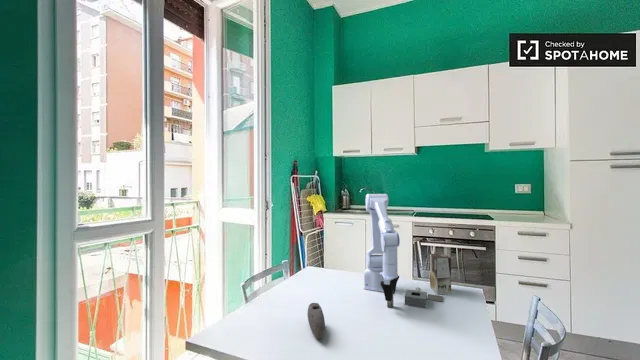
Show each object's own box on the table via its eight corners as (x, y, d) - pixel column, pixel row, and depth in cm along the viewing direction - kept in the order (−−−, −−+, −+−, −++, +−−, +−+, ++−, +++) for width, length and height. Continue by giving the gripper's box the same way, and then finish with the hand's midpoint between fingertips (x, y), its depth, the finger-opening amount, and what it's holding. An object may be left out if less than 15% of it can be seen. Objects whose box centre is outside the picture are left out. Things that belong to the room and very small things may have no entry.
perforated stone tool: (328, 343, 87) (328, 320, 88) (311, 344, 87) (310, 321, 87) (321, 320, 102) (321, 300, 102) (306, 321, 102) (306, 301, 102)
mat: (426, 300, 120) (426, 298, 120) (427, 295, 125) (427, 293, 125) (442, 302, 117) (442, 301, 117) (442, 297, 123) (442, 296, 123)
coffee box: (451, 294, 125) (451, 257, 126) (437, 294, 126) (436, 257, 126) (443, 287, 135) (443, 253, 135) (429, 287, 135) (429, 252, 135)
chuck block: (404, 304, 115) (404, 296, 115) (408, 291, 129) (408, 284, 129) (425, 308, 112) (425, 299, 112) (427, 294, 126) (427, 286, 126)
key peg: (386, 307, 113) (386, 286, 113) (387, 304, 115) (387, 284, 115) (392, 308, 112) (392, 287, 112) (394, 305, 114) (393, 285, 114)
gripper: (383, 257, 122) (383, 289, 122) (376, 266, 109) (376, 302, 108) (400, 259, 119) (400, 292, 119) (394, 268, 106) (395, 305, 106)
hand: (390, 297), depth 113 cm, fingers open, 7 cm apart
